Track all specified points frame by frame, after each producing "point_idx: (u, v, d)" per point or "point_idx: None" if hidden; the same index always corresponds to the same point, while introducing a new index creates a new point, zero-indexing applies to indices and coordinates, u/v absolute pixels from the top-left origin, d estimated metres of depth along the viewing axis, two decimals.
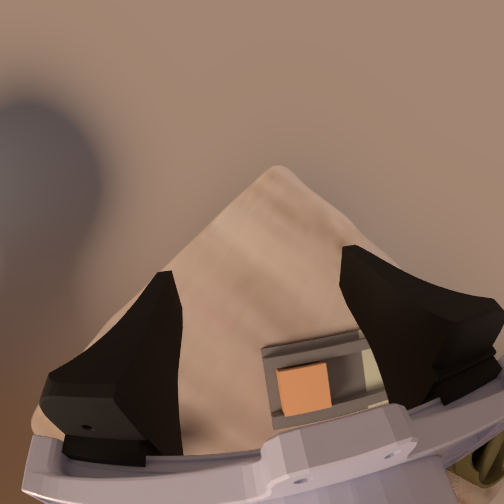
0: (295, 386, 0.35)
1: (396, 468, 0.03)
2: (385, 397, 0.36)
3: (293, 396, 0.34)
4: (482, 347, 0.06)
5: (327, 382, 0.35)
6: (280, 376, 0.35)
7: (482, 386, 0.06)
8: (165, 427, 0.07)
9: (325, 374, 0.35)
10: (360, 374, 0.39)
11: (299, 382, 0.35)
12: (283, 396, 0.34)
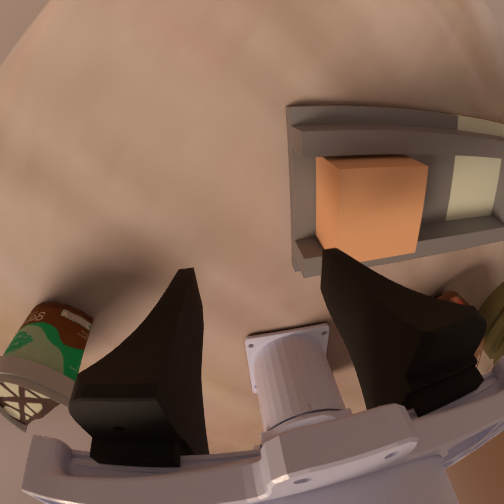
0: (367, 204, 0.16)
1: (396, 468, 0.03)
2: (473, 242, 0.21)
3: (358, 225, 0.17)
4: (461, 357, 0.06)
5: (421, 205, 0.17)
6: (341, 179, 0.15)
7: (461, 397, 0.06)
8: (195, 426, 0.08)
9: (422, 188, 0.16)
10: (446, 190, 0.21)
11: (375, 196, 0.16)
12: (339, 224, 0.17)
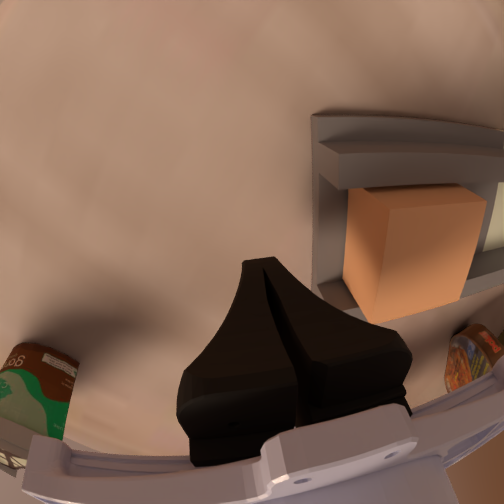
0: (417, 252, 0.12)
1: (396, 468, 0.03)
2: None
3: (403, 277, 0.12)
4: (382, 387, 0.06)
5: (474, 247, 0.12)
6: (390, 222, 0.11)
7: None
8: None
9: (477, 228, 0.12)
10: (486, 218, 0.17)
11: (427, 242, 0.12)
12: (381, 278, 0.12)
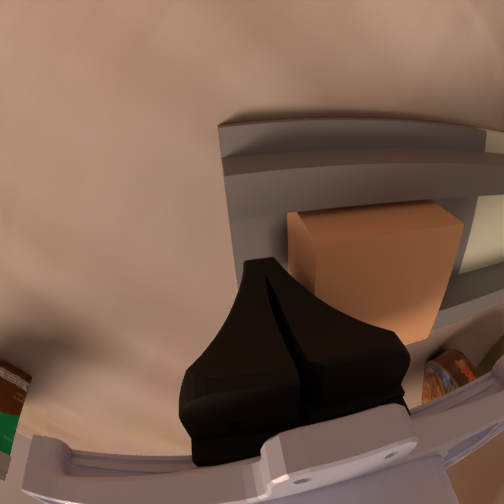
0: (363, 291, 0.10)
1: (396, 468, 0.03)
2: (491, 303, 0.15)
3: None
4: (380, 387, 0.06)
5: (446, 280, 0.10)
6: (319, 259, 0.09)
7: None
8: None
9: (451, 257, 0.10)
10: (463, 236, 0.15)
11: (377, 279, 0.10)
12: None
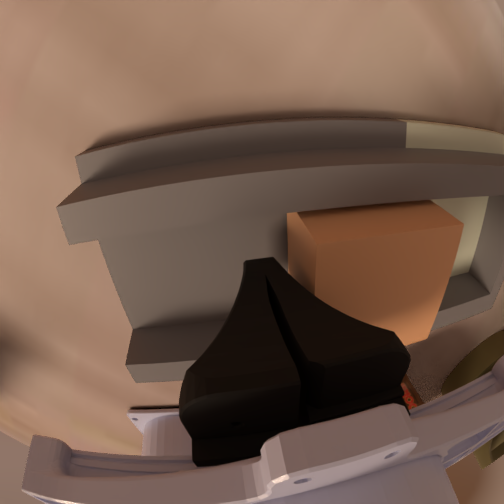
0: (362, 291, 0.10)
1: (396, 468, 0.03)
2: None
3: None
4: (380, 387, 0.06)
5: (446, 281, 0.10)
6: (319, 259, 0.09)
7: None
8: None
9: (451, 258, 0.10)
10: None
11: (377, 279, 0.10)
12: None
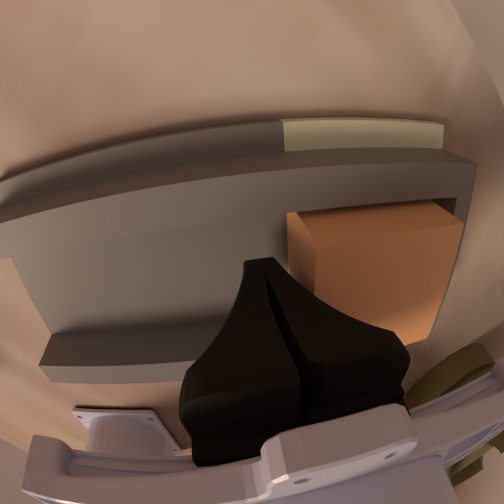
0: (362, 291, 0.10)
1: (396, 468, 0.03)
2: None
3: None
4: (380, 387, 0.06)
5: (446, 280, 0.10)
6: (319, 259, 0.09)
7: None
8: None
9: (450, 257, 0.10)
10: None
11: (377, 279, 0.10)
12: None
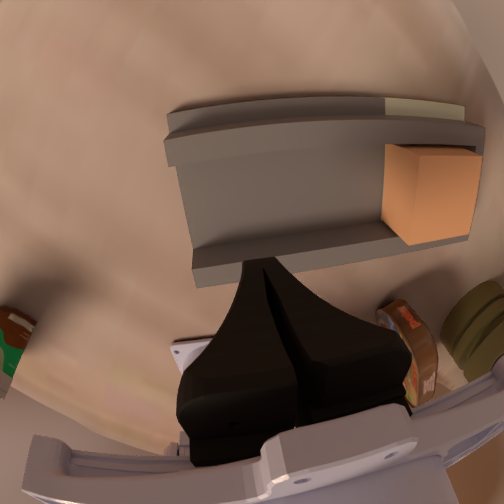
0: (437, 188, 0.16)
1: (396, 468, 0.03)
2: (414, 246, 0.20)
3: (429, 207, 0.17)
4: (382, 387, 0.06)
5: (476, 191, 0.16)
6: (420, 164, 0.15)
7: None
8: None
9: (477, 176, 0.16)
10: (376, 186, 0.20)
11: (444, 182, 0.16)
12: (415, 206, 0.17)
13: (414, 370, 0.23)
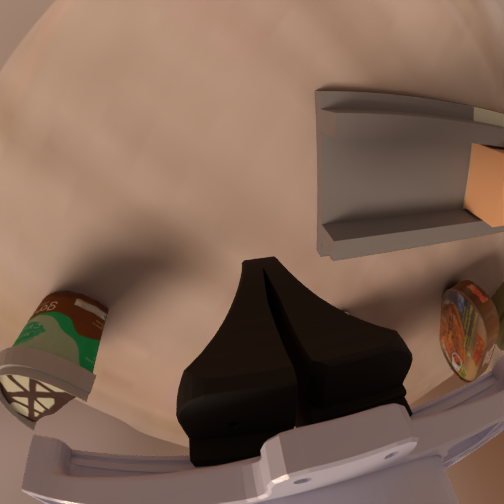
0: None
1: (396, 468, 0.03)
2: (489, 230, 0.21)
3: None
4: (382, 387, 0.06)
5: None
6: None
7: None
8: None
9: None
10: (463, 178, 0.21)
11: None
12: (500, 195, 0.17)
13: (479, 342, 0.24)
